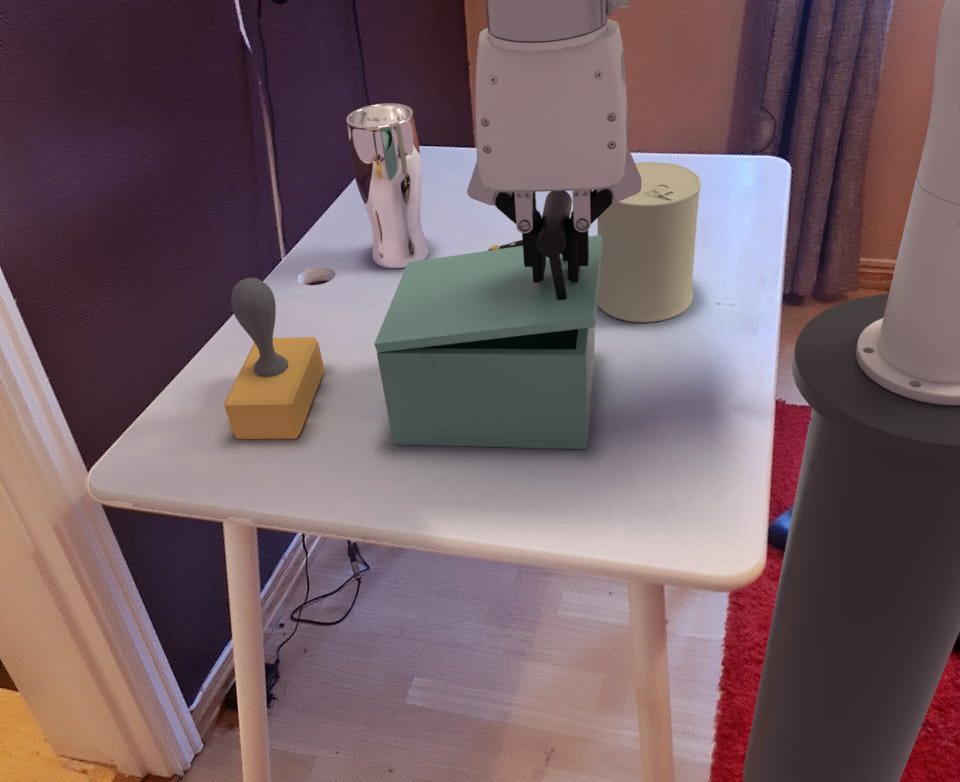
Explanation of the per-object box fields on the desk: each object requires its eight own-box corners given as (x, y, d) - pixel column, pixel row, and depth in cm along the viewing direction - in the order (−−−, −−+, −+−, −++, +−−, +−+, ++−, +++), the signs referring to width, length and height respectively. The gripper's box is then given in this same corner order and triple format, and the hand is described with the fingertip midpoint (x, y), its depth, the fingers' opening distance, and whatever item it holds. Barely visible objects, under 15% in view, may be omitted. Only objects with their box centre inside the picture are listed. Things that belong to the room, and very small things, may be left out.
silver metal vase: (439, 241, 101) (423, 102, 92) (422, 272, 96) (403, 128, 86) (379, 239, 103) (357, 102, 93) (360, 269, 98) (333, 128, 88)
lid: (603, 243, 74) (591, 168, 70) (595, 327, 65) (582, 245, 61) (410, 270, 78) (389, 200, 74) (377, 352, 69) (351, 278, 65)
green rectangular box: (594, 359, 81) (594, 269, 76) (586, 449, 72) (585, 355, 66) (422, 357, 84) (409, 271, 78) (393, 444, 75) (376, 353, 69)
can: (628, 333, 84) (631, 209, 76) (578, 291, 91) (576, 172, 83) (712, 304, 87) (723, 181, 79) (657, 265, 93) (662, 148, 85)
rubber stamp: (264, 371, 84) (230, 251, 77) (326, 370, 84) (297, 249, 76) (233, 439, 77) (191, 314, 69) (300, 438, 76) (266, 312, 68)
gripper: (675, -16, 59) (664, 248, 71) (432, 0, 62) (461, 252, 74) (677, 18, 53) (665, 298, 65) (410, 33, 56) (445, 300, 68)
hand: (557, 272), depth 69 cm, fingers closed on lid, 2 cm apart
